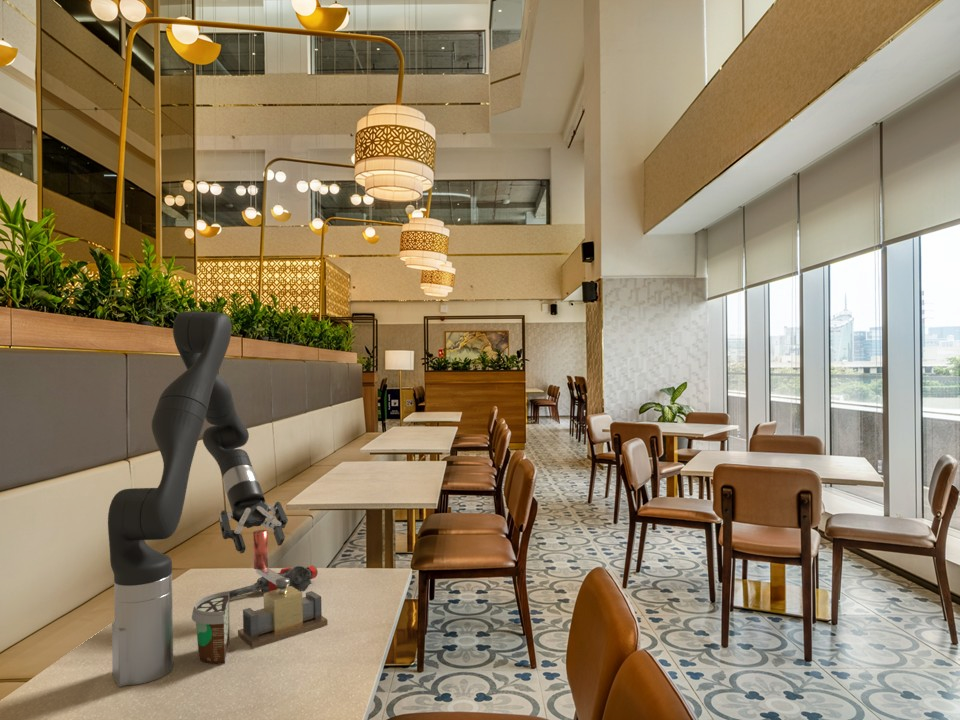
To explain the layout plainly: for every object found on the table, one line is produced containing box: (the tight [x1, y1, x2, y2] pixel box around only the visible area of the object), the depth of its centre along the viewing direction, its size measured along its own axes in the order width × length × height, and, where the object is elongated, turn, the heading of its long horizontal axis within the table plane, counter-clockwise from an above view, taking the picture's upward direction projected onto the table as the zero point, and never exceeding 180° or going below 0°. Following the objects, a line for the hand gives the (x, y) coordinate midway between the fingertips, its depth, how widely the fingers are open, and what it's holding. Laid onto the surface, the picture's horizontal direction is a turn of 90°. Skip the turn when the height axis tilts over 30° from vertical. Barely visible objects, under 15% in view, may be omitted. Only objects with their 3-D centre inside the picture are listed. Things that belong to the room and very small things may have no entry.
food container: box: [191, 590, 230, 665], centre depth 117 cm, size 12×6×10 cm, turn 18°
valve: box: [228, 565, 318, 598], centre depth 152 cm, size 6×26×15 cm
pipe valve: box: [237, 586, 329, 649], centre depth 127 cm, size 16×8×9 cm, turn 131°
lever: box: [252, 529, 290, 588], centre depth 132 cm, size 15×3×9 cm, turn 41°
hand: (262, 547), depth 136 cm, fingers open, 8 cm apart
